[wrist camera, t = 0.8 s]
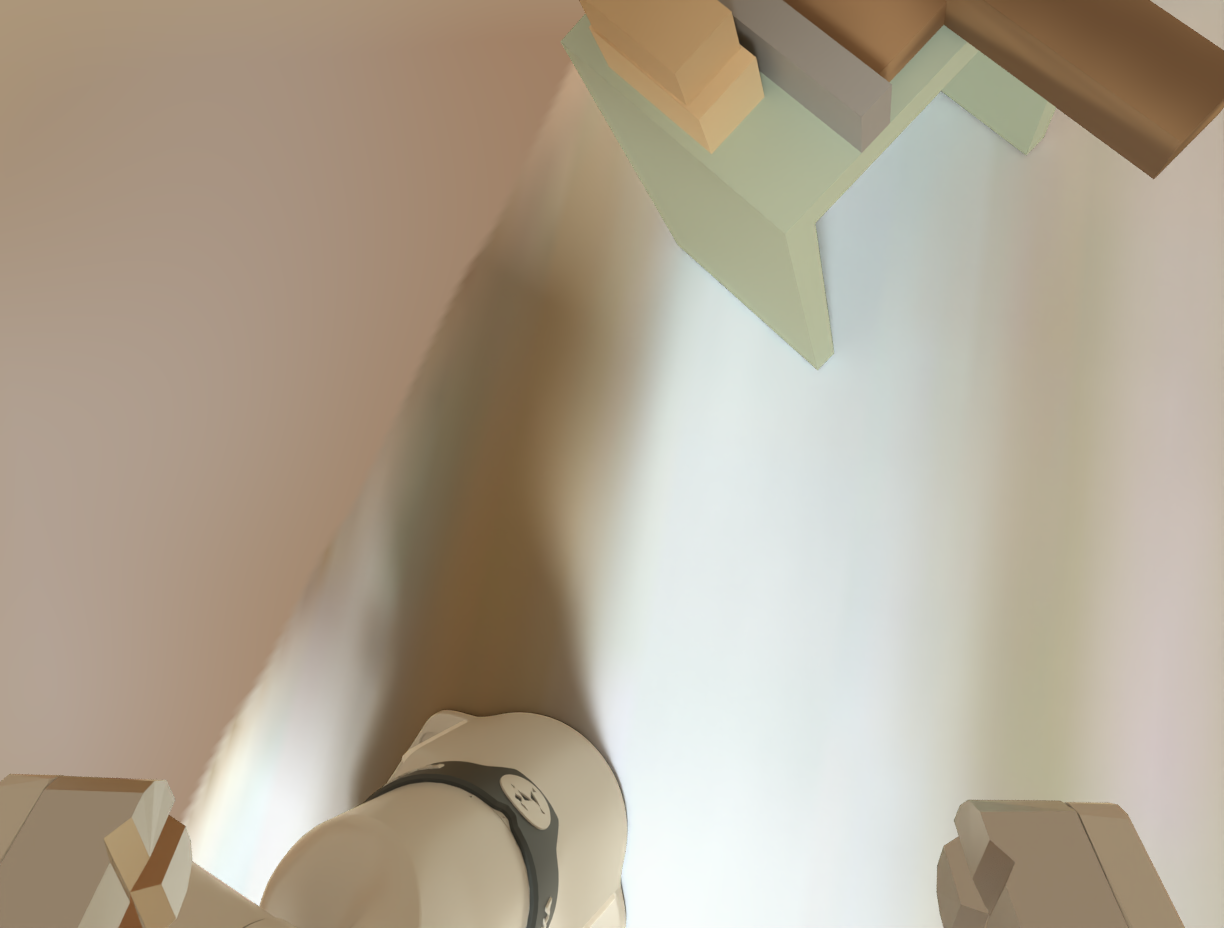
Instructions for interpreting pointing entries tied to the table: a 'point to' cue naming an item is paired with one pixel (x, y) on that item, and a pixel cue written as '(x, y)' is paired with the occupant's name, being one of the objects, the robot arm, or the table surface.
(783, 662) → the table surface
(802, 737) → the table surface
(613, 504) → the table surface
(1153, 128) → the board with handle
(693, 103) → the stand
